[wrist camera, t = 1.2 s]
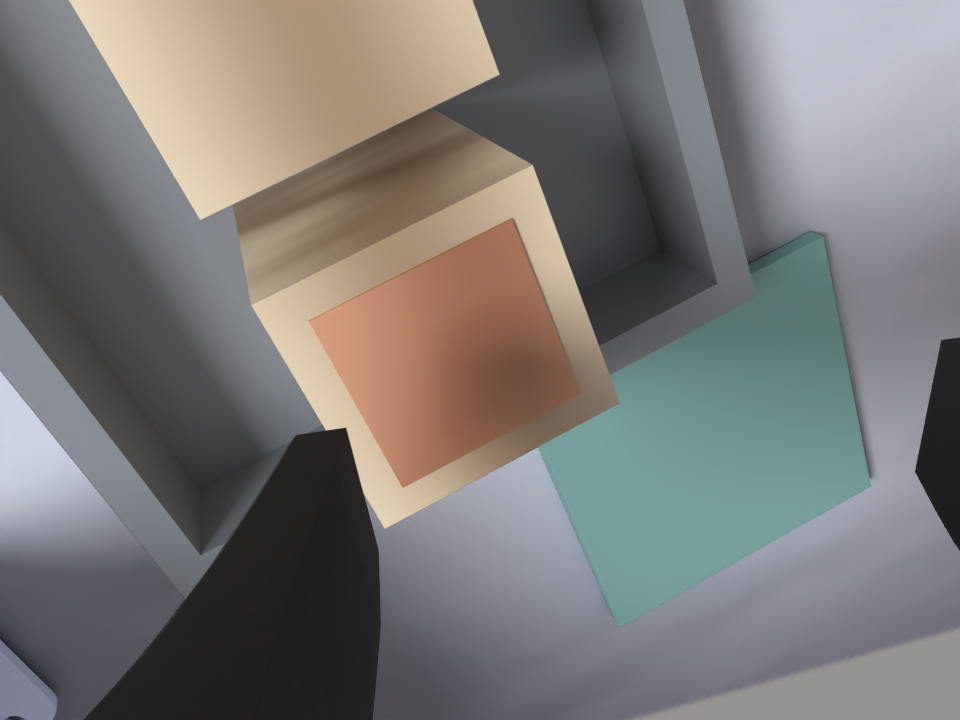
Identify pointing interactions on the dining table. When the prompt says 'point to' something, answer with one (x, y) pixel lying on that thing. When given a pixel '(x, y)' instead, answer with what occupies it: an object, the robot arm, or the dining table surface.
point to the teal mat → (717, 440)
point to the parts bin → (214, 239)
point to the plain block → (279, 79)
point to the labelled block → (424, 308)
